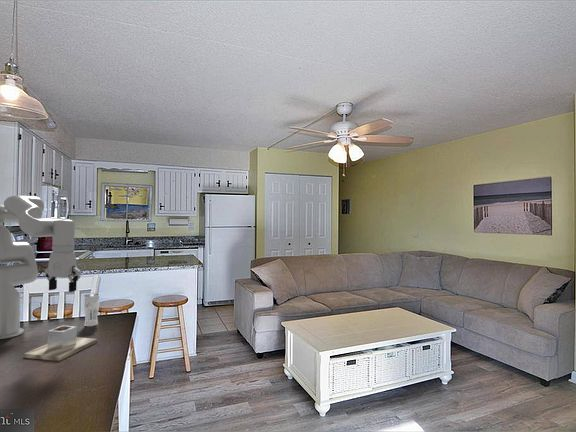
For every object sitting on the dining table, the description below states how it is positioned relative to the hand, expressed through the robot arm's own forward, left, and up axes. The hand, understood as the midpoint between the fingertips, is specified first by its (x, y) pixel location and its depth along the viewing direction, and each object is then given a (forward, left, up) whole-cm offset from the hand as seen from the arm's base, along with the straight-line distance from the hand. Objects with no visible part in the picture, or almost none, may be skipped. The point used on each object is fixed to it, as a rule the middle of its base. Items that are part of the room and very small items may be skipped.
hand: (62, 290), depth 139 cm
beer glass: (-10, +27, -24) cm, 38 cm away
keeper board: (+2, -2, -24) cm, 24 cm away
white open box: (+2, -2, -22) cm, 22 cm away
